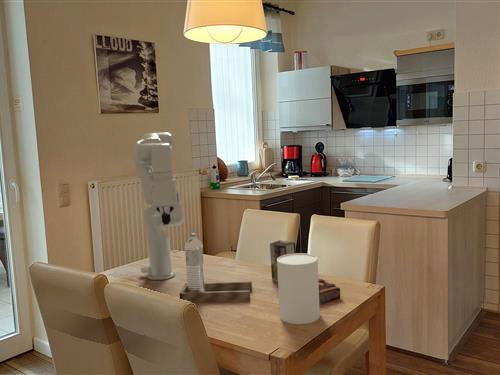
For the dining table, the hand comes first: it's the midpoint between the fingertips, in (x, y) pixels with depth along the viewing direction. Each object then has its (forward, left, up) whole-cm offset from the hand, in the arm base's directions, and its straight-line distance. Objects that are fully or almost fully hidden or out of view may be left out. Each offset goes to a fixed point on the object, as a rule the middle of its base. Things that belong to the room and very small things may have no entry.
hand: (166, 223), depth 190 cm
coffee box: (+44, +16, -30) cm, 55 cm away
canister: (+49, -22, -30) cm, 61 cm away
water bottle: (+10, 0, -30) cm, 31 cm away
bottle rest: (+18, 0, -29) cm, 34 cm away
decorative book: (+56, -4, -30) cm, 64 cm away
